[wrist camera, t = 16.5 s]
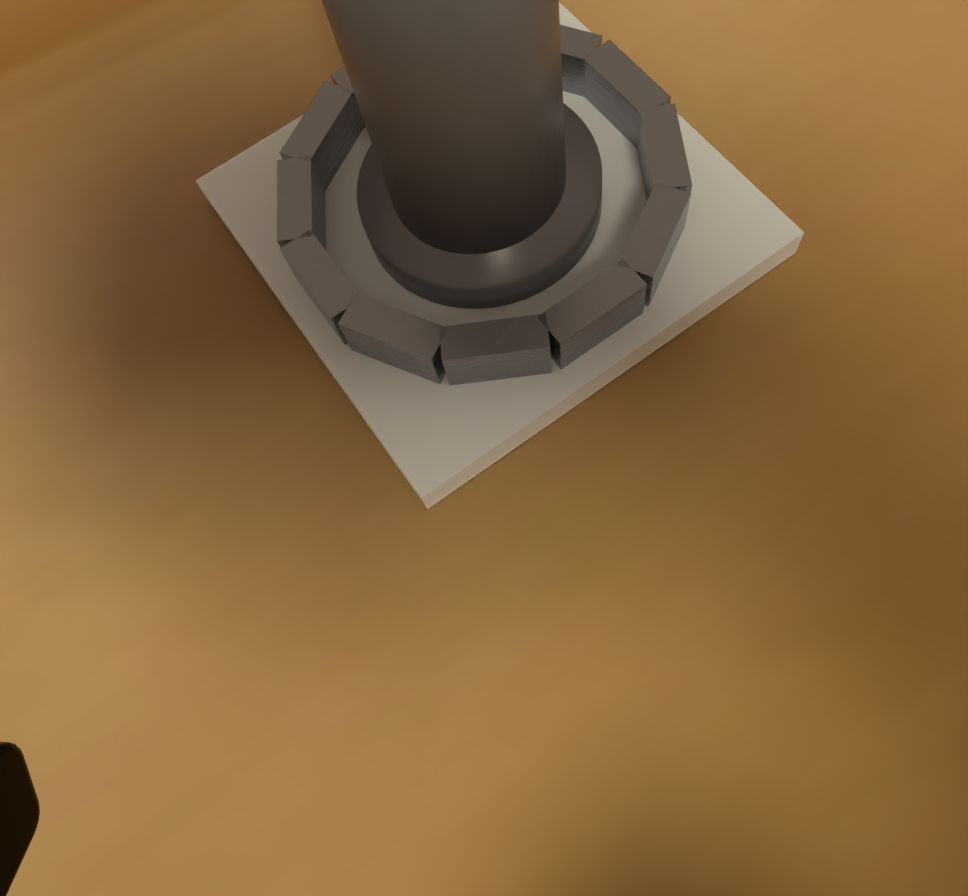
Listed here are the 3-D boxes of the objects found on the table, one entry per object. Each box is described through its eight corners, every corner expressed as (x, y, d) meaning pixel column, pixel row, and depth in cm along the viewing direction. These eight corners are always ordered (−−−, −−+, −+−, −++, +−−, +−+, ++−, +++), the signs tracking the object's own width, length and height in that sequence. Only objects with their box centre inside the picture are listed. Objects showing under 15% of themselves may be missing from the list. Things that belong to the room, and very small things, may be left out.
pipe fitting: (651, 215, 25) (709, -326, 13) (454, 354, 24) (311, -83, 12) (507, 73, 27) (438, -492, 15) (323, 195, 26) (94, -301, 14)
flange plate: (795, 252, 25) (818, 199, 23) (427, 509, 23) (410, 479, 21) (532, 0, 29) (528, -67, 27) (207, 200, 28) (174, 148, 25)
